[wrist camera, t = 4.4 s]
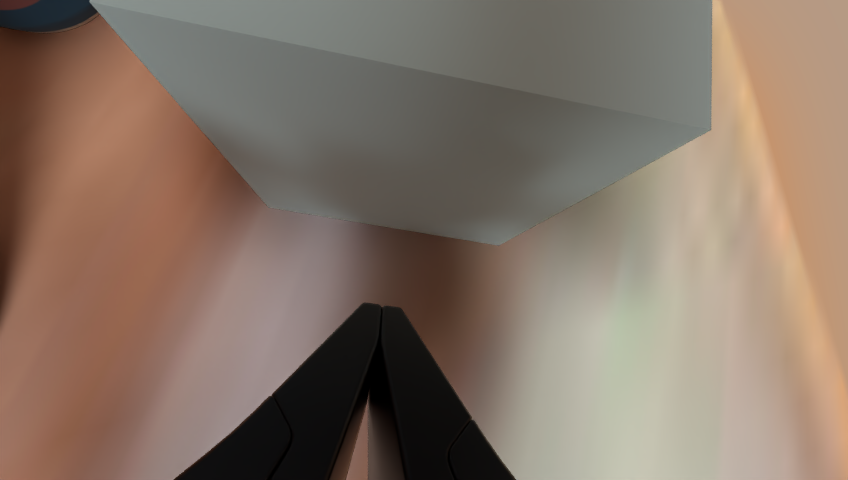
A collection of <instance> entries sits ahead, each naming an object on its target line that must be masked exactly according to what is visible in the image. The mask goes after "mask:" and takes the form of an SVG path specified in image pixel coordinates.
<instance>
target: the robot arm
mask: <svg viewBox="0 0 848 480" xmlns="http://www.w3.org/2000/svg"><path fill="white" fill-rule="evenodd" d="M368 394H369V397H368ZM367 399H368V480H516V479H515V477H514V476H513V475H512V474H511V472H510V471H509V470H508V468H507V467H506V466H505V464H504V463H503V462H502V461H501V459H500V458H499V456H498V455H497V453H496V452H495V450H494V449H493V448H492V446H491V445H490V443H489V442H488V440H487V439H486V437H485V436H484V434H483V433H482V431H481V430H480V428H479V427H478V425H477V424H476V422H475V421H474V420H472V417H471V415H470V414H469V412H468V411H467V409H466V408H465V406H464V405H463V403H462V401H461V400H460V398H459V397H458V395H457V394H456V392H455V391H454V389H453V387H452V386H451V384H450V383H449V381H448V380H447V378H446V377H445V375H444V374H443V372H442V370H441V369H440V367H439V366H438V364H437V363H436V361H435V360H434V358H433V356H432V355H431V353H430V352H429V350H428V349H427V347H426V346H425V344H424V343H423V341H422V339H421V338H420V336H419V335H418V333H417V332H416V330H415V329H414V327H413V325H412V324H411V322H410V321H409V319H408V318H407V316H406V315H405V313H404V312H403V310H402V309H401V308H399V307H393V306H383V307H381V305H379V304H372V303H363V304H361V305H360V306H359V307H358V308H357V309H356V310H355V311H354V312H353V313H352V314H351V315H350V316H349V317H348V318H347V319H346V320H345V321H344V322H343V323H342V324H341V325H340V326H339V327H338V328H337V329H336V330H335V331H334V332H333V333H332V334H331V335H330V336H329V337H328V338H327V339H326V340H325V341H324V342H323V343H322V344H321V345H320V346H319V347H318V348H317V349H316V350H315V351H314V352H313V353H312V354H311V355H310V356H309V357H308V358H307V359H306V360H305V361H304V362H303V363H302V364H301V365H300V367H299V368H298V369H297V370H296V371H295V372H294V373H293V374H292V375H291V376H290V377H289V378H288V379H287V380H286V381H285V382H284V383H283V384H282V385H281V386H280V387H279V388H278V389H277V390H276V391H275V392H274V393H273V394H272V396H269V397H268V398H267V399H266V400H265V401H264V402H263V403H262V404H261V405H260V406H259V407H258V408H257V409H256V410H255V411H254V412H253V413H252V414H251V415H250V416H248V417H247V418H246V419H245V420H244V421H243V422H242V423H241V424H240V425H239V426H238V427H237V428H236V429H235V430H234V431H232V432H231V433H230V434H229V435H228V436H226V437H225V438H224V439H223V440H222V441H221V442H219V443H218V444H217V445H216V446H215V447H213V448H212V449H211V450H210V451H209V452H207V453H206V454H205V455H204V456H202V457H201V458H200V459H199V460H197V461H196V462H195V463H194V464H192V465H191V466H190V467H189V468H187V469H186V470H185V471H184V472H182V473H181V474H180V475H179V476H177V477H176V478H175V479H174V480H346V476H347V473H348V469H349V466H350V462H351V458H352V455H353V451H354V448H355V444H356V440H357V437H358V433H359V430H360V426H361V423H362V419H363V415H364V412H365V408H366V404H367Z"/></svg>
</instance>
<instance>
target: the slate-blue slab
mask: <svg viewBox="0 0 848 480" xmlns="http://www.w3.org/2000/svg"><path fill="white" fill-rule="evenodd" d="M89 2H90V3H91V4H92V6H93V7H94V8H95V9H96V10H97V11H98V12H99V14H100V15H101V16H102V17H103V18H104V19H105V20H106V22H107V23H108V24H109V25H110V26H111V27H112V28H113V30H114V31H115V32H116V33H117V34H118V35H119V37H120V38H121V39H122V40H123V41H124V42H125V43H126V45H127V46H128V47H129V48H130V49H131V50H132V51H133V53H134V54H135V55H136V56H137V57H138V58H139V59H140V61H141V62H142V63H143V64H144V65H145V66H146V67H147V69H148V70H149V71H150V72H151V73H152V74H153V76H154V77H155V78H156V79H157V80H158V81H159V82H160V84H161V85H162V86H163V87H164V88H165V89H166V90H167V92H168V93H169V94H170V95H171V96H172V97H173V98H174V100H175V101H176V102H177V103H178V104H179V105H180V107H181V108H182V109H183V110H184V111H185V112H186V113H187V115H188V116H189V117H190V118H191V119H192V120H193V121H194V123H195V124H196V125H197V126H198V127H199V128H200V129H201V131H202V132H203V133H204V134H205V135H206V136H207V137H208V139H209V140H210V141H211V142H212V143H213V144H214V146H215V147H216V148H217V149H218V150H219V151H220V152H221V154H222V155H223V156H224V157H225V158H226V159H227V160H228V162H229V163H230V164H231V165H232V166H233V167H234V168H235V170H236V171H237V172H238V173H239V174H240V175H241V176H242V178H243V179H244V180H245V181H246V182H247V183H248V185H249V186H250V187H251V188H252V189H253V190H254V191H255V193H256V194H257V195H258V196H259V197H260V198H261V199H262V201H263V202H264V203H265V204H266V205H267V206H268V207H269V208H274V209H280V210H286V211H292V212H298V213H304V214H310V215H316V216H322V217H329V218H335V219H341V220H347V221H353V222H359V223H365V224H371V225H377V226H383V227H389V228H395V229H401V230H407V231H413V232H419V233H425V234H431V235H437V236H443V237H449V238H455V239H461V240H468V241H474V242H480V243H486V244H492V245H498V246H499V245H501V244H503V243H504V242H506V241H508V240H510V239H512V238H514V237H515V236H517V235H519V234H521V233H523V232H525V231H526V230H528V229H530V228H532V227H534V226H536V225H538V224H539V223H541V222H543V221H545V220H547V219H549V218H550V217H552V216H554V215H556V214H558V213H560V212H561V211H563V210H565V209H567V208H569V207H571V206H572V205H574V204H576V203H578V202H580V201H582V200H583V199H585V198H587V197H589V196H591V195H593V194H594V193H596V192H598V191H600V190H602V189H604V188H605V187H607V186H609V185H611V184H613V183H615V182H616V181H618V180H620V179H622V178H624V177H626V176H627V175H629V174H631V173H633V172H635V171H637V170H638V169H640V168H642V167H644V166H646V165H648V164H649V163H651V162H653V161H655V160H657V159H659V158H660V157H662V156H664V155H666V154H668V153H670V152H671V151H673V150H675V149H677V148H679V147H681V146H682V145H684V144H686V143H688V142H690V141H692V140H693V139H695V138H697V137H699V136H701V135H703V134H705V133H706V132H708V131H710V130H711V86H712V0H90V1H89Z"/></svg>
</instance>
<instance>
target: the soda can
mask: <svg viewBox="0 0 848 480" xmlns="http://www.w3.org/2000/svg"><path fill="white" fill-rule="evenodd" d="M89 1H90V0H0V27H5V28H10V29H15V30H22V31H28V32H35V33H56V32H62V31H67V30H71V29H74V28H77V27H79V26H82V25H84V24H86V23H88V22H89V21H91V20H93V19H94V18H95V17H97V16H98V15H99V12H98V11H97V10H96V9H95V8H94V7H93V6H92V4H91V3H90V2H89Z"/></svg>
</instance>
